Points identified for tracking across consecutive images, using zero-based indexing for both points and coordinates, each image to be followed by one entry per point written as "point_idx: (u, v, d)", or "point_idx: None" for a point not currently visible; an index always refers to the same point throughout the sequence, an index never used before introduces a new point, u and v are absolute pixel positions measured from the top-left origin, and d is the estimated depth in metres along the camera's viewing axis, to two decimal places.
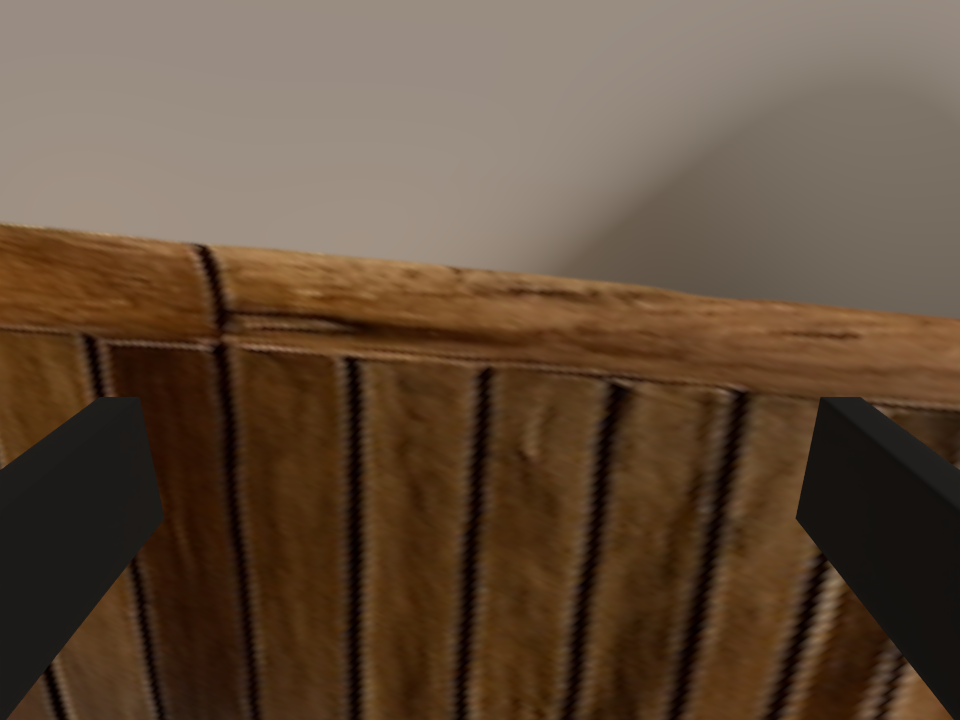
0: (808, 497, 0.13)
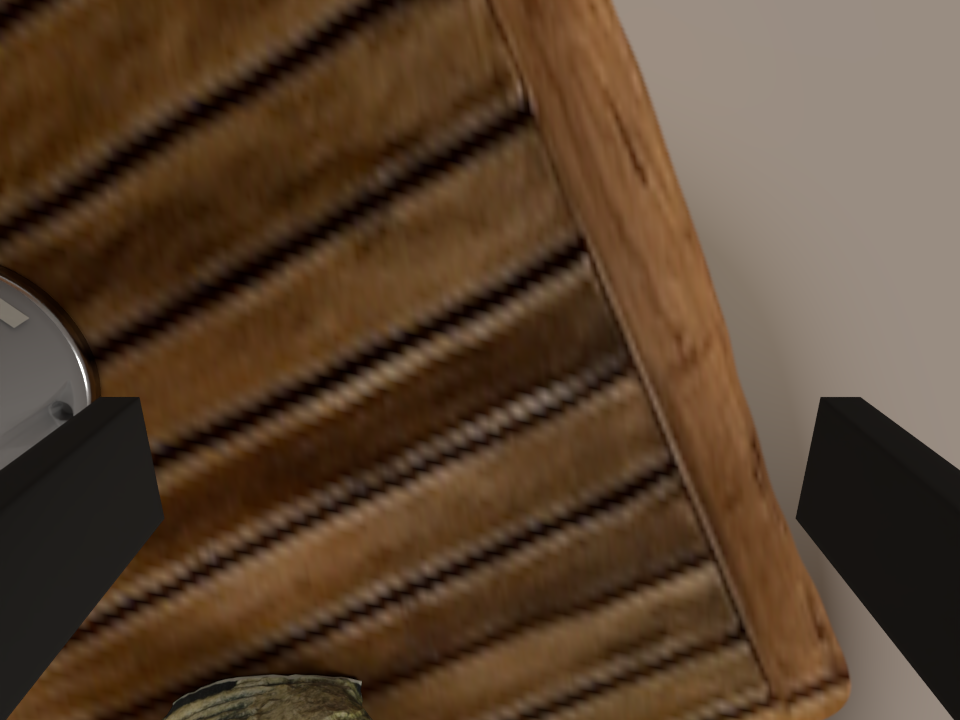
0: (807, 497, 0.13)
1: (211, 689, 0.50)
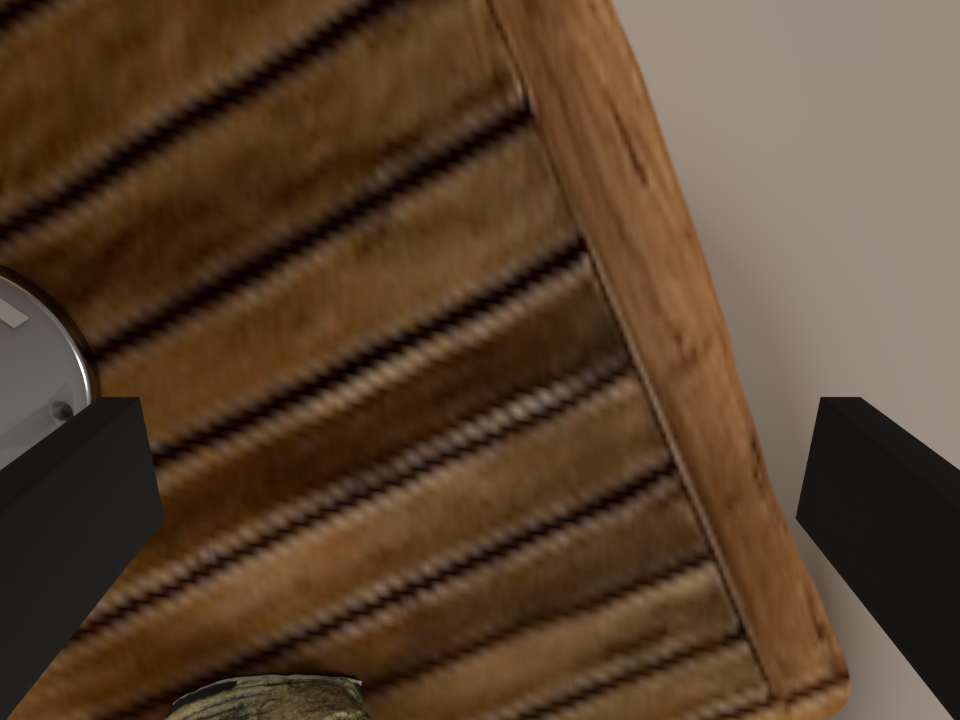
0: (807, 497, 0.13)
1: (211, 689, 0.50)
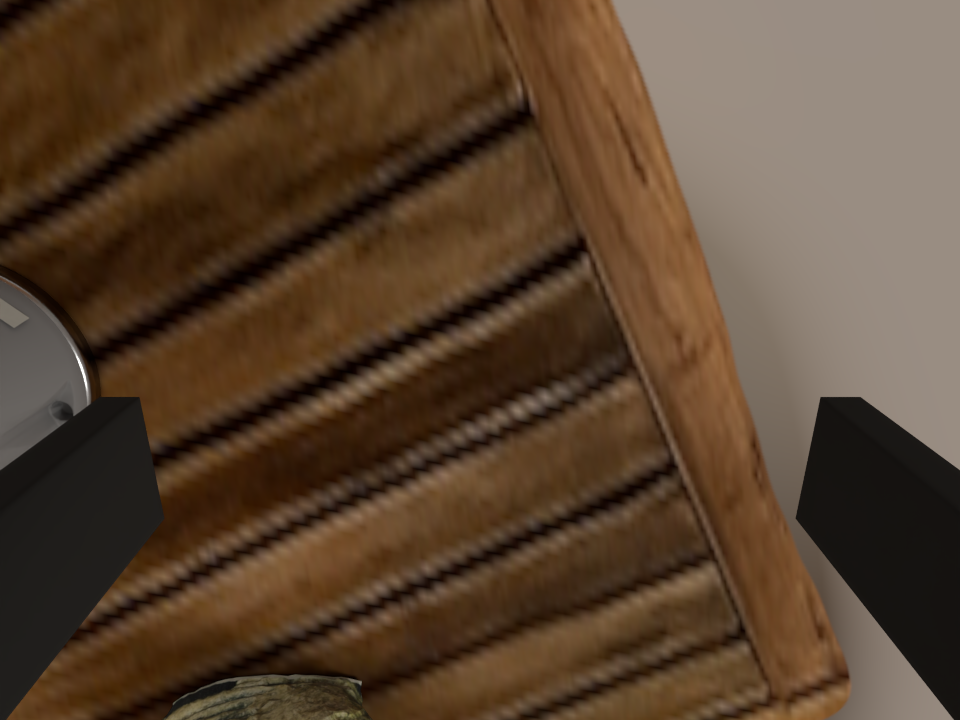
0: (807, 497, 0.13)
1: (211, 689, 0.50)
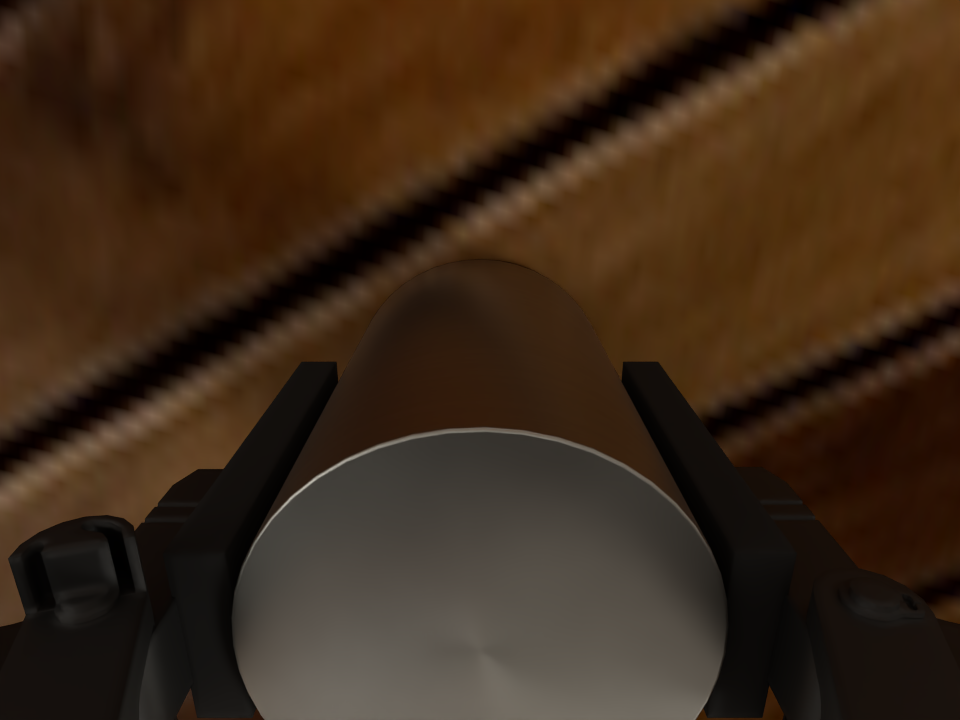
0: None
1: None
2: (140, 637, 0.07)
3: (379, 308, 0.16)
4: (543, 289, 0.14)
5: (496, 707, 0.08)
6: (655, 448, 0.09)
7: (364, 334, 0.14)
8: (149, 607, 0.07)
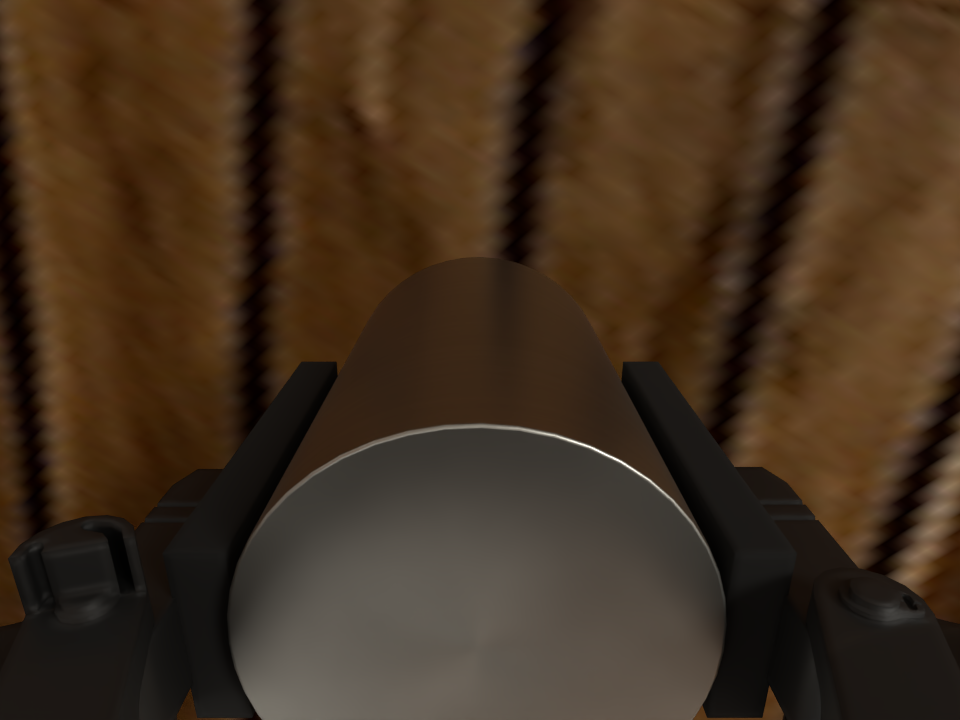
0: None
1: None
2: (139, 637, 0.07)
3: None
4: (541, 287, 0.14)
5: (493, 705, 0.08)
6: (653, 445, 0.09)
7: (362, 332, 0.14)
8: (148, 607, 0.07)
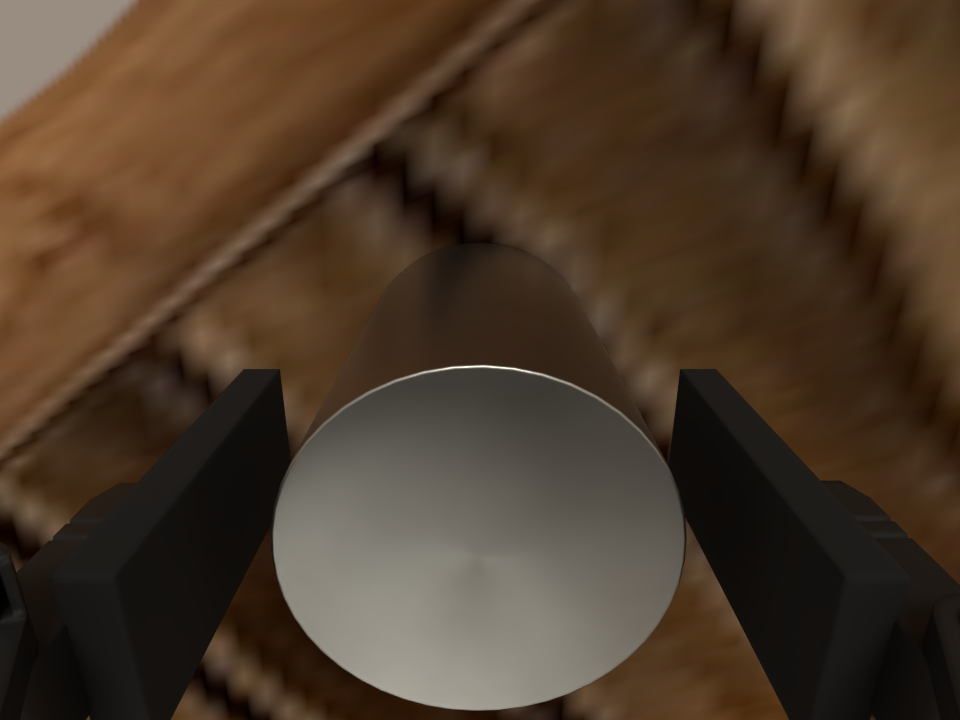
0: (673, 460, 0.14)
1: None
2: (19, 663, 0.07)
3: None
4: (536, 268, 0.15)
5: (491, 609, 0.10)
6: (628, 395, 0.11)
7: None
8: (30, 631, 0.07)
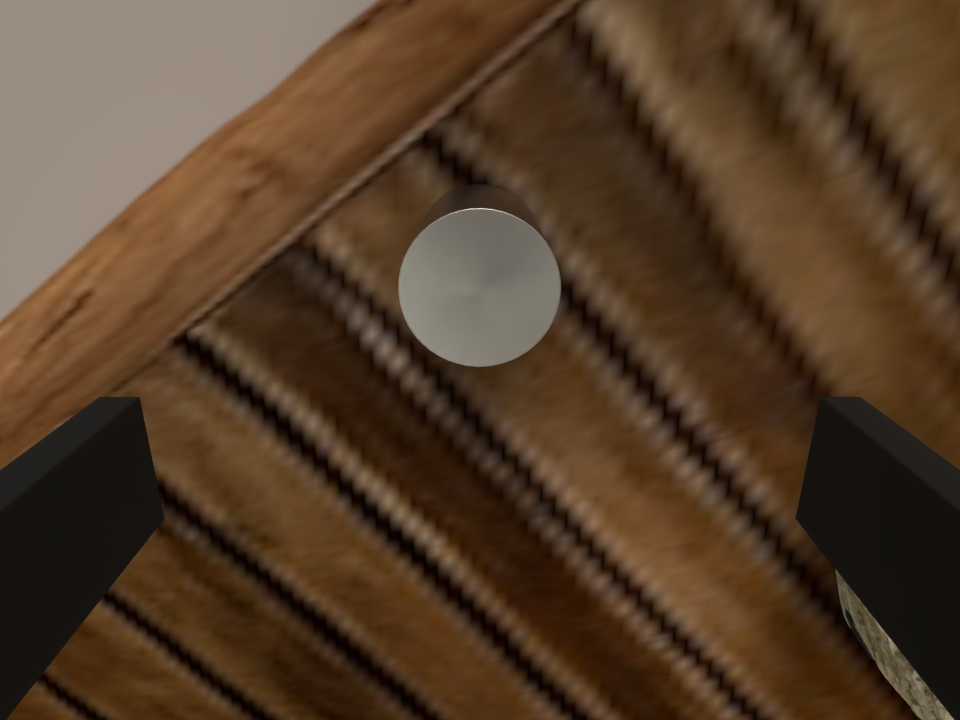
0: (807, 496, 0.13)
1: (855, 635, 0.40)
2: None
3: None
4: (508, 194, 0.30)
5: (484, 315, 0.25)
6: (542, 233, 0.25)
7: (425, 217, 0.31)
8: None
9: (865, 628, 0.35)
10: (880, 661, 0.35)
